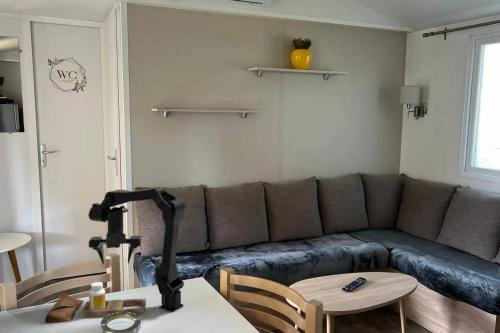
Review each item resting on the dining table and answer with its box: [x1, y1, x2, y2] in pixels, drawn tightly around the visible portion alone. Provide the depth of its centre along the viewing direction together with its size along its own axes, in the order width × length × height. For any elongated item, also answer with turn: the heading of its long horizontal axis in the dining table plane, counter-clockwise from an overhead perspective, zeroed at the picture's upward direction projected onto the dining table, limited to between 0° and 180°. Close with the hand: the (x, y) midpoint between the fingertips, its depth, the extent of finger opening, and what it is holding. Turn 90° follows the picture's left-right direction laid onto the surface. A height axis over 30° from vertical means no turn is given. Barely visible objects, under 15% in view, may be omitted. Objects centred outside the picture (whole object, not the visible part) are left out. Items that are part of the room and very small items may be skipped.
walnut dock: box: [80, 298, 147, 318], centre depth 156 cm, size 21×9×2 cm, turn 100°
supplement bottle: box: [88, 281, 106, 310], centre depth 155 cm, size 5×5×10 cm
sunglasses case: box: [44, 293, 85, 324], centre depth 155 cm, size 18×7×7 cm, turn 7°
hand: (116, 263), depth 167 cm, fingers open, 9 cm apart
